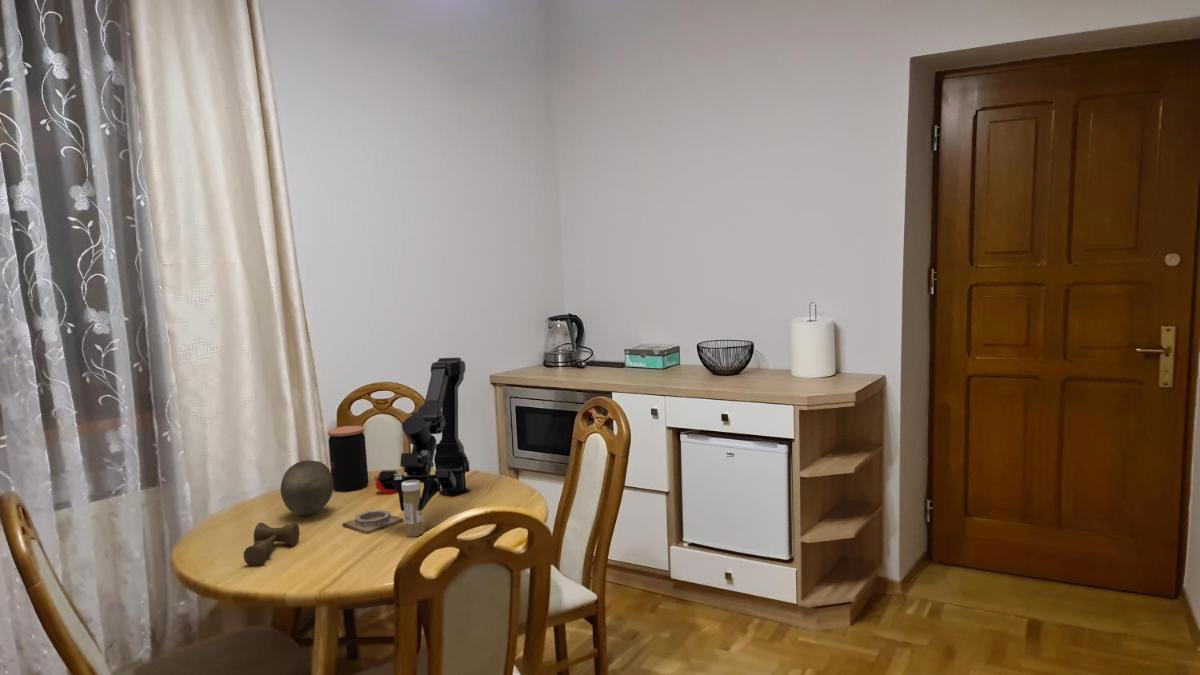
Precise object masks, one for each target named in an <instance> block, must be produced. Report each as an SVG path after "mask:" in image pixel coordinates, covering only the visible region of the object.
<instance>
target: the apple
mask: <svg viewBox="0 0 1200 675" xmlns="http://www.w3.org/2000/svg"><path fill="white" fill-rule="evenodd" d="M378 476H379V474H378V475H375V476H374V478H375V479H374V480H375V483H374V484H375V485H374V486H375V488H376V489H377V490H379V491H380V492H382V493H384V494H385V495H390V494H395V493H398V492H397V491H396V490H385V489H384V488H383V487H382V485H381V484H380V482H379V481H378Z"/></svg>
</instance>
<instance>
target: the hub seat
mask: <svg viewBox="0 0 1200 675" xmlns="http://www.w3.org/2000/svg"><path fill="white" fill-rule="evenodd" d="M403 522H404V523H405V519H404V518H402V517H399V516H395V515H392V514H391V512H390V511H387V510H369V511H365V512H362V513H359V514H356V517H355V518H354V519H351V520H349V521H346V522H343V523H342V527H343V528H346V529H349V528H350V529H349V530H352V531H357V532H359V533H363V534H364V535H365V534H366V535H370V534H372V533H375V532H378V531H381V530H383V529H386V528H389V527H393V526H395V525H398V524H401V523H403Z"/></svg>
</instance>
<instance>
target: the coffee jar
mask: <svg viewBox="0 0 1200 675" xmlns="http://www.w3.org/2000/svg"><path fill="white" fill-rule="evenodd" d="M364 432H365V427H364V426H362V425H346V426H345V425H344V426H338V427H334V428H332V429H328V430H327V434H328V436H329V437H328V450H329V461H330V462H329V463H330V472H331V474H332V477H333V484H334V485H333V490H335V492H344V493H346V492H355V491H359V490H362V489H364V488H366V487H367V485H368V484H369V471H368V459H367V448H366V447H367V445H366V437H365V434H364Z"/></svg>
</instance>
